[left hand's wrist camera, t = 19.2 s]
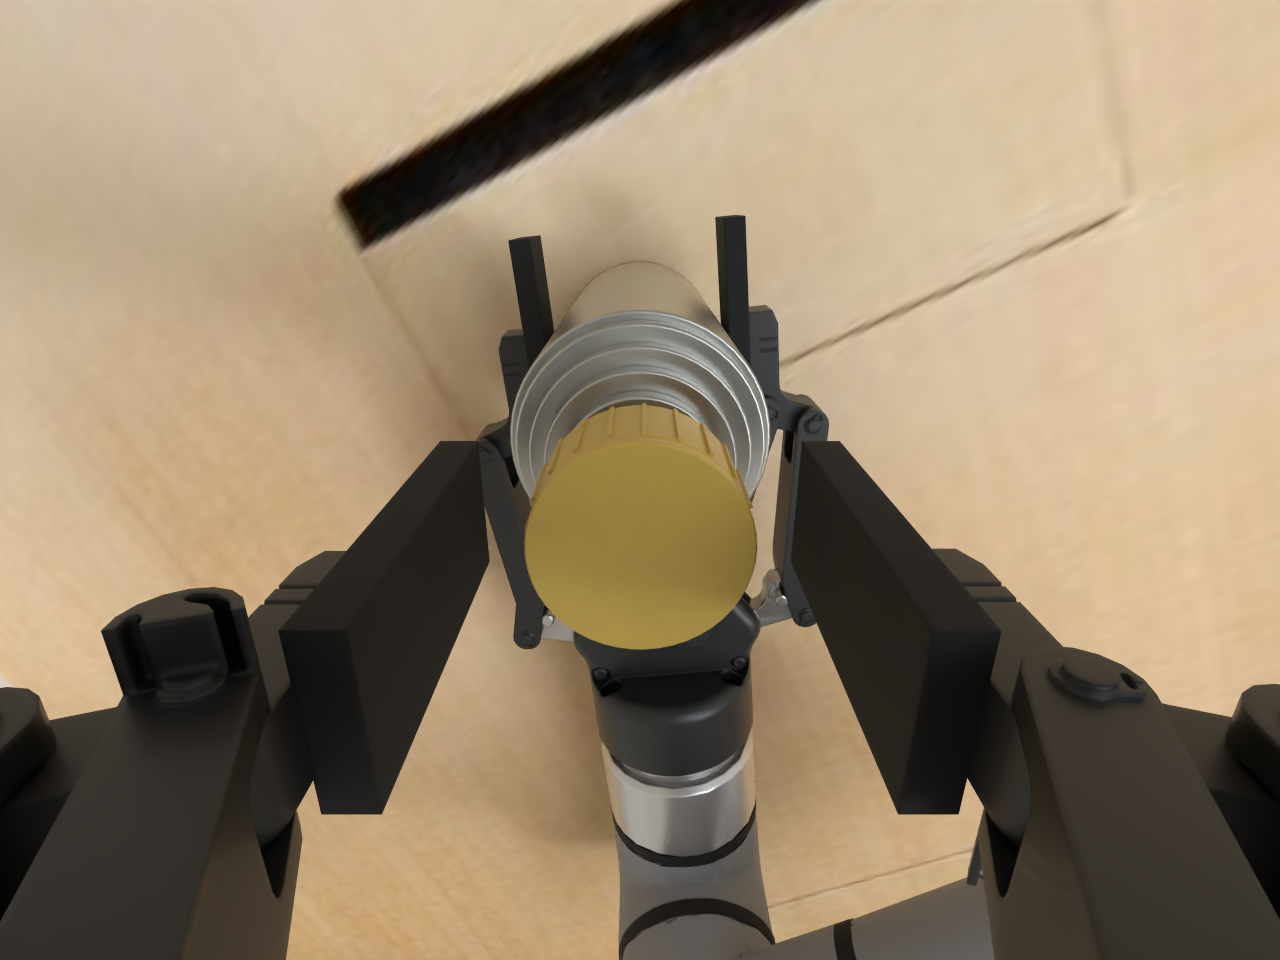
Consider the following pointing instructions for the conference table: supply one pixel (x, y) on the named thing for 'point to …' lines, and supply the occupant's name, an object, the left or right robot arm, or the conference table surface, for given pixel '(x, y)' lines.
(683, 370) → the bottle
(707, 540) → the cap
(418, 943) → the conference table surface
